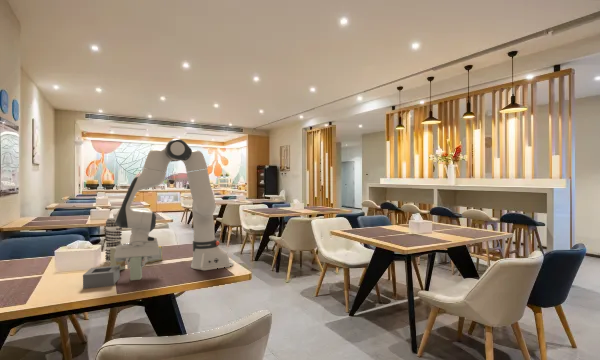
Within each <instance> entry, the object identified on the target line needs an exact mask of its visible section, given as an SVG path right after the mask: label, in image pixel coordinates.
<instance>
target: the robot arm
mask: <svg viewBox="0 0 600 360" xmlns="http://www.w3.org/2000/svg"><path fill="white" fill-rule="evenodd" d="M179 161H181V162H182V163H183V164H184V167H185V171H186V176H187V177H186V178H187V182H188V186H189V190H190V196H191V198H192V204H191V206H192V207H191V209H192V211H191V212H192V226H193V227H192V228H193V240H192V252H193V253H192V261H191V265H190V268H191V269H194V270H201V271H210V270H217V268H218V269H224V267H225V268H231V267H232V266H233V265H234V262H233V260H231V259H230V257H229V254H228V252H227V251H226V250H224V249H223V248H222V247H220V246H219V245H221V244H220V241H219V240H217V239H216V238H215V220H214V212H215V211H216V207H217V204H216V199H215V195H214V193H213V188H212V185H211V182H210V176H209V169H208V166H207V165H208V164H207V162H206V159H205V156H204V154H203V152H202V151H200V150H198V149H197V150H196V149H193V150H192V148H191V147H190V146H189V145H188V144H187V143H186V141H184V140H183V139H181V138H173V139H171V140H170V141H168V142H167V144H166V145H165V147H164V148H162V149H160V148H153V149H151V150H149V151H148V154H147V156H146V159H145V161H144V165H143V168H142V171H141V173H140V174H139V175H138V176H135V177H134V178H133V180H132V181H131V184H130V186H128V189H127V192H126V193H125V197H124V199H123V201H122V204H121V205H120V207H119V209H118V211H117V213H116V214H115V217H114V218H115V223H116V224H117V225H118V226H119V227H120V228H122V229H128V228H129V229H131V230H130V231H131V234H130V237H129V242H128V243H127V242H126V243H121V244H119V245H117V246H116V248H115V254H114V259H115V261H117V262H118V261H125V264H127V269H130V259H131V258H132V257H142V260H143V259H144V261H143V262H141V267H142V268H143V267H144V268H145V266H146V265H145V264H147V263H146V262H147V261H148V259H156V258H159V256H160V253H159V246H160V245H159V243H158V239H157V237H154V236H150V232H152V231H153V230H154V229H155V228H156V222H157V221H156V220H157V215H156V213H155V212H154V211H151V210H145V209H137V208H132V207H131V206H132V203H133V201H134V199H135V197H136V195H137V193H138V192H139V191H141V190H145V189H151V188H156V187H158V186H161V185H162V183H164V182H165V179H166V175H167V171H168V166H169V164H170V163H172V162H179ZM230 266H231V267H230Z"/></svg>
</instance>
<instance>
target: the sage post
mask: <svg viewBox="0 0 600 360" xmlns="http://www.w3.org/2000/svg"><path fill="white" fill-rule="evenodd" d="M141 262H142V257H132V258H131V259H130V262H129V263H130V268H129V272H130V273H129V275H130V277H129V278H130V279H129V280H130V281H139V280H141V279H142V278H143V267H141Z"/></svg>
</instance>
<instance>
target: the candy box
mask: <svg viewBox="0 0 600 360" xmlns="http://www.w3.org/2000/svg"><path fill="white" fill-rule="evenodd" d="M158 246H159V253H160V256H159V258H156V259H148V261H147V262H146V263H145V264H150V263H155V262H159V261H163V246H161V245H158ZM143 261H144V259H143V260H142V262H143Z"/></svg>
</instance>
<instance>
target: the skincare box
mask: <svg viewBox="0 0 600 360" xmlns="http://www.w3.org/2000/svg"><path fill="white" fill-rule="evenodd" d="M115 248H116V247H113V248H110V262H109V263H110V264H109V266H120V271H122V270H125V269H126V261H118V262H117V261H115V259H114V254H115Z"/></svg>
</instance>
